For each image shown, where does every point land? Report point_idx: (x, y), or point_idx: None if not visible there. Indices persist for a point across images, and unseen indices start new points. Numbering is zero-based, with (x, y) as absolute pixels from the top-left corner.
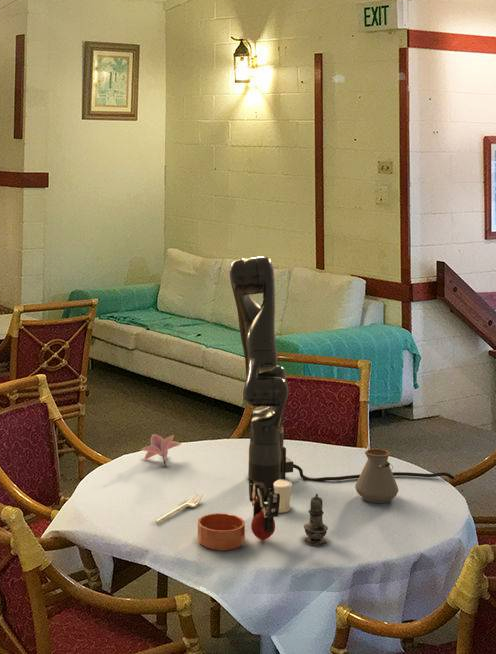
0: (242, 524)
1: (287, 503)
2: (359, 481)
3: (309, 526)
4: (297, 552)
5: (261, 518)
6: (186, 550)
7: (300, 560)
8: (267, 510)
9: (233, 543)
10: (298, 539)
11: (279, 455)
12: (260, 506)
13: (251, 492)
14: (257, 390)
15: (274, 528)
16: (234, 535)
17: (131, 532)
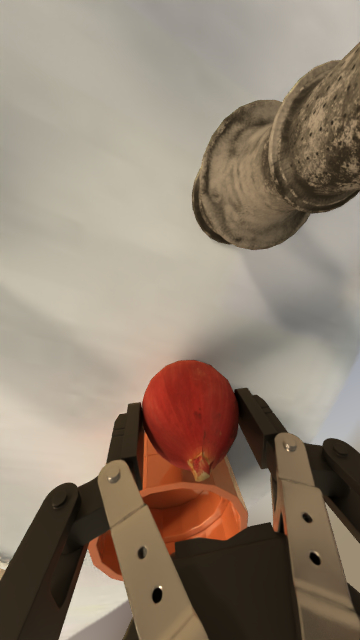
0: (208, 490)
1: None
2: None
3: (274, 225)
4: (291, 300)
5: (225, 455)
6: None
7: (340, 310)
8: (344, 519)
9: (232, 471)
10: (199, 259)
11: None
12: (134, 469)
13: (65, 606)
14: None
15: (219, 373)
16: (240, 493)
17: (81, 602)
